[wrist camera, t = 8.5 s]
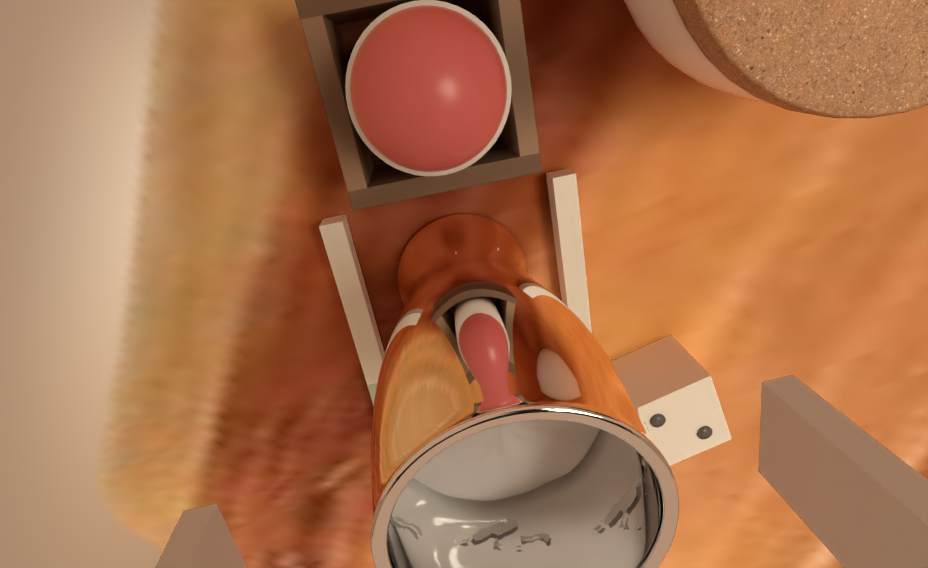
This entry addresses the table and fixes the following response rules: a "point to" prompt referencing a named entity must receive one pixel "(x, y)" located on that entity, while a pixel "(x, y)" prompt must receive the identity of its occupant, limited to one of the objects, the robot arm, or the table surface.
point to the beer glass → (505, 423)
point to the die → (674, 399)
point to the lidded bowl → (798, 51)
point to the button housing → (320, 13)
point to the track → (358, 301)
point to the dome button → (428, 88)
